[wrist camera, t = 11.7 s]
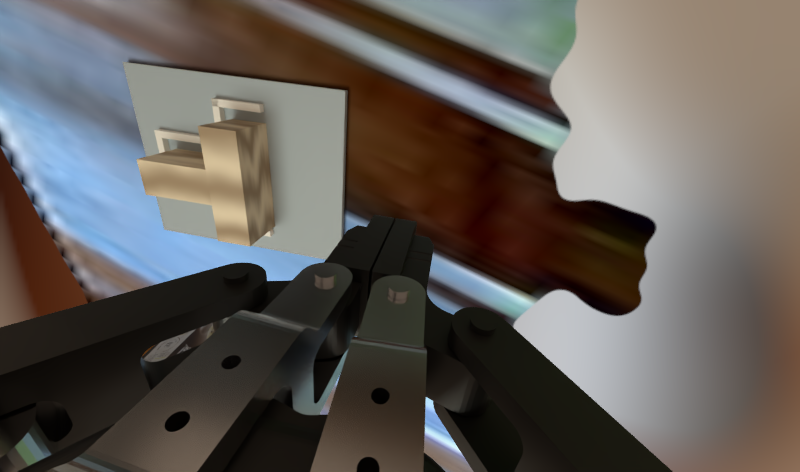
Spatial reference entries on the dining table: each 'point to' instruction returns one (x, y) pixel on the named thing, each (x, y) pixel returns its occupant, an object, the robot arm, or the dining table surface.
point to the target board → (287, 144)
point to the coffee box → (179, 344)
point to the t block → (220, 178)
